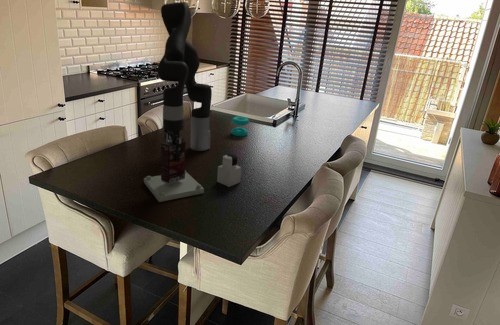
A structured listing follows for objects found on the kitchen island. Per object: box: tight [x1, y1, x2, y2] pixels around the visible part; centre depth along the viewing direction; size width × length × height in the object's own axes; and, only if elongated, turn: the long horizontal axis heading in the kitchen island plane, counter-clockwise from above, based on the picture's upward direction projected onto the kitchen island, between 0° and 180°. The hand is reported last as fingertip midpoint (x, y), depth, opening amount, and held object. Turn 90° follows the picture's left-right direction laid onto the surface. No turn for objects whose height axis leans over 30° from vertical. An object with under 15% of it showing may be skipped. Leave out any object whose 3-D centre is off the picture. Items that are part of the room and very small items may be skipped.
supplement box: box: [160, 140, 186, 185], centre depth 141 cm, size 9×5×16 cm, turn 143°
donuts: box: [230, 116, 250, 138], centre depth 214 cm, size 10×10×10 cm
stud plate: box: [143, 169, 205, 203], centre depth 144 cm, size 18×18×3 cm
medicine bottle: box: [216, 153, 242, 188], centre depth 151 cm, size 7×7×12 cm
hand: (173, 158), depth 140 cm, fingers closed on supplement box, 5 cm apart
